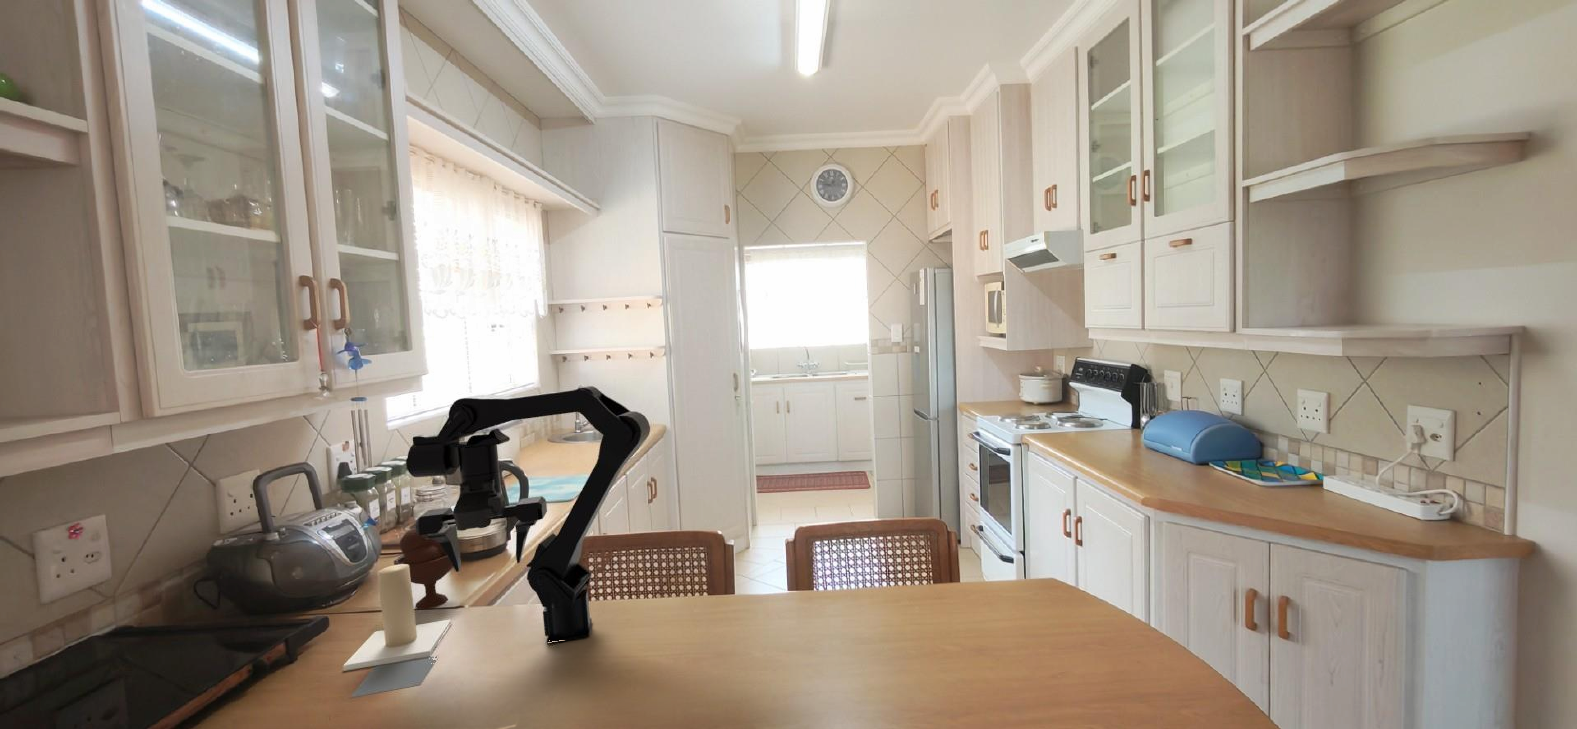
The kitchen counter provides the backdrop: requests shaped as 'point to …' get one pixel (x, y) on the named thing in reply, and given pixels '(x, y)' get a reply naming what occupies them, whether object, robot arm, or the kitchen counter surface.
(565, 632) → the robot arm
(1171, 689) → the kitchen counter surface
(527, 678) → the kitchen counter surface
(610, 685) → the kitchen counter surface
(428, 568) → the ice cream bowl
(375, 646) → the cutting board
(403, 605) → the tan tapered rounded piece
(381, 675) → the mat
